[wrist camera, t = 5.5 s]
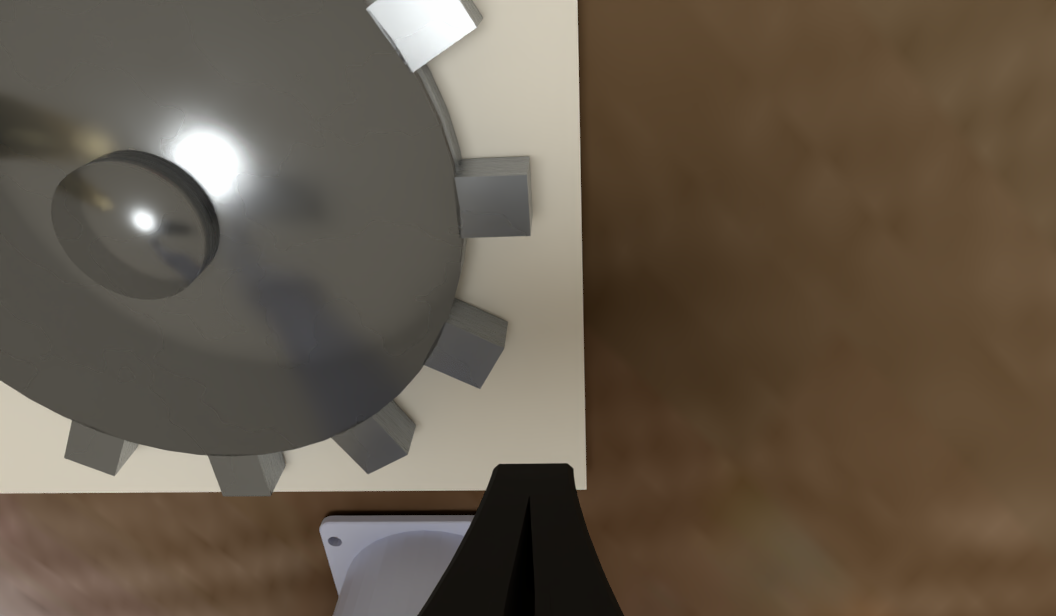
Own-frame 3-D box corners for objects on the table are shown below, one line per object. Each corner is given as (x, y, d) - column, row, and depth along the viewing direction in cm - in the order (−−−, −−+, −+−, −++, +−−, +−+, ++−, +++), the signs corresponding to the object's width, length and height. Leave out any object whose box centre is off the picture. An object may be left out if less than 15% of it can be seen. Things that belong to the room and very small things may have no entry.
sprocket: (674, 36, 16) (718, 90, 12) (381, 538, 25) (340, 681, 21) (-242, -488, 13) (-718, -717, 8) (-201, 320, 22) (-410, 435, 17)
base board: (585, 469, 25) (586, 502, 23) (-2, 473, 26) (-34, 505, 25) (569, -372, 14) (570, -402, 12) (-445, -279, 15) (-545, -297, 14)
